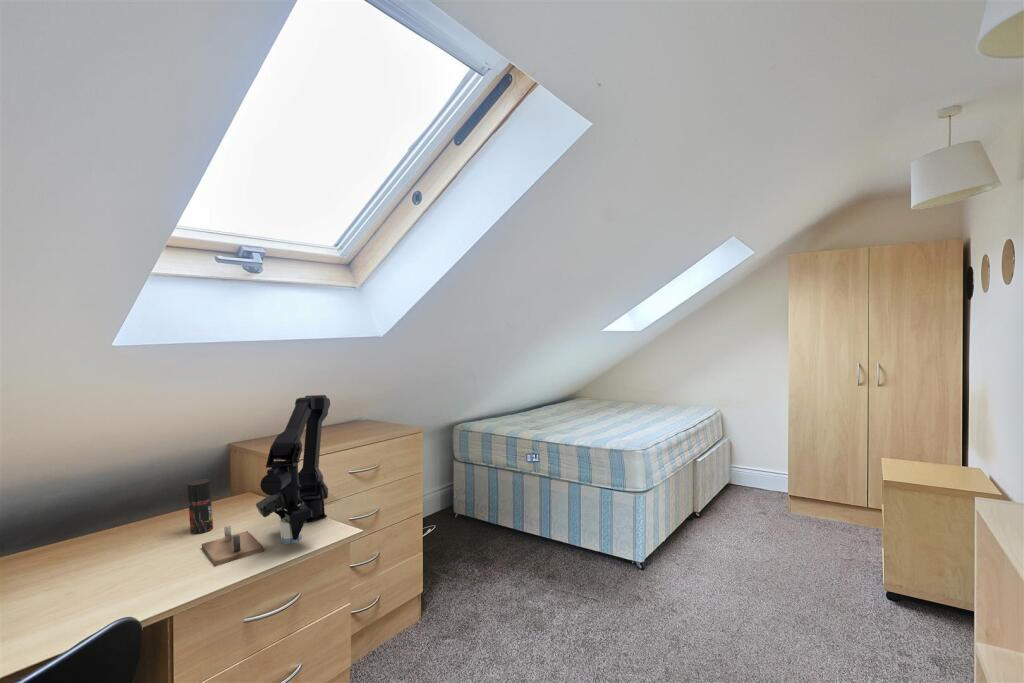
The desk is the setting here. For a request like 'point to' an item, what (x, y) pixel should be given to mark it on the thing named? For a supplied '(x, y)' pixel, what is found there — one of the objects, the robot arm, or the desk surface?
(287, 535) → the sleeve
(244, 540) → the pin board
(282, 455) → the robot arm
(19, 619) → the desk surface
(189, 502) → the deodorant
